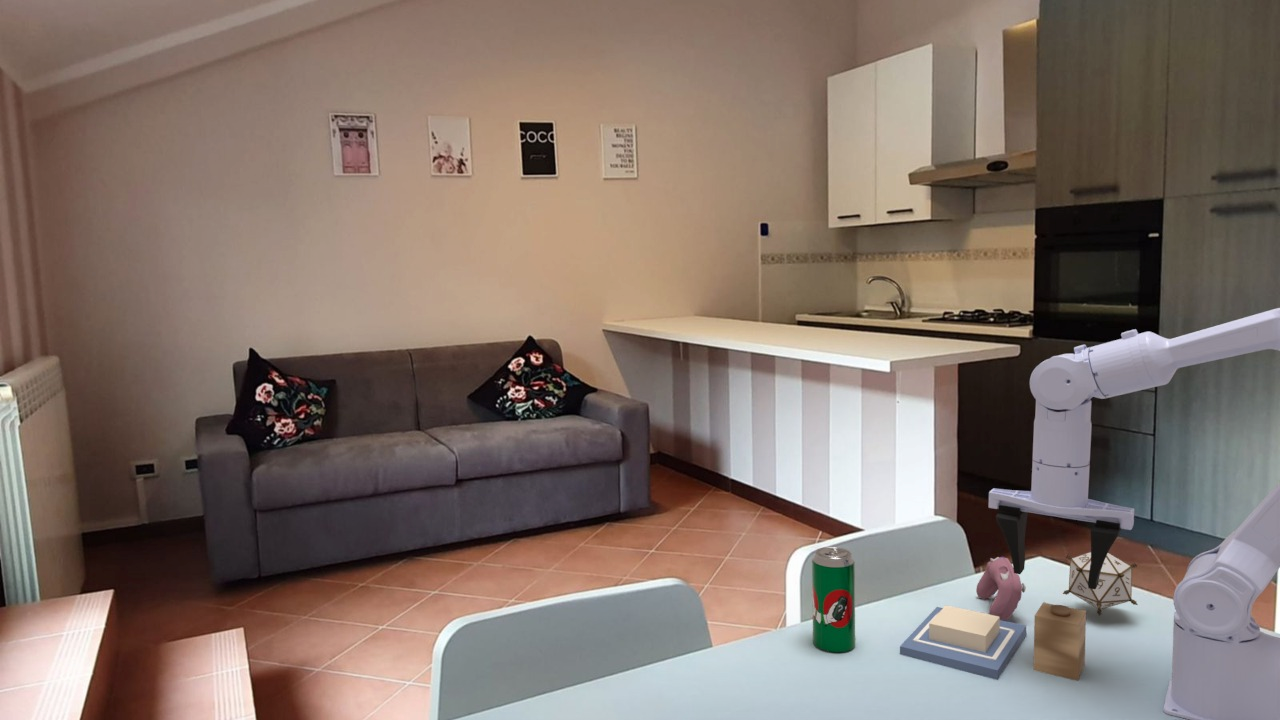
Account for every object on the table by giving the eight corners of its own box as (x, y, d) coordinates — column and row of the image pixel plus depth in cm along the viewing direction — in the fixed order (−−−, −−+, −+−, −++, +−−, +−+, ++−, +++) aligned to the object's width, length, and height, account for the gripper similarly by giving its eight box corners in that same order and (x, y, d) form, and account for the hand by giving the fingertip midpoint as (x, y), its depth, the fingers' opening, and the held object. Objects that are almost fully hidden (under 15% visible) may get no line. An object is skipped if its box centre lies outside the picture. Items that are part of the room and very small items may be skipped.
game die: (1137, 635, 102) (1140, 556, 101) (1060, 622, 107) (1062, 547, 106) (1136, 609, 110) (1138, 536, 109) (1064, 598, 114) (1066, 527, 113)
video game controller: (1027, 628, 106) (1029, 575, 105) (989, 625, 107) (991, 573, 106) (1009, 598, 115) (1011, 549, 115) (974, 596, 116) (975, 547, 116)
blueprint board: (1026, 634, 104) (1026, 610, 103) (997, 680, 92) (997, 653, 92) (936, 615, 110) (936, 592, 110) (899, 655, 99) (899, 630, 99)
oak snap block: (1084, 665, 95) (1086, 605, 95) (1077, 681, 92) (1079, 619, 91) (1042, 655, 98) (1043, 597, 97) (1033, 670, 95) (1034, 610, 94)
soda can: (863, 647, 102) (863, 552, 100) (838, 660, 98) (837, 562, 97) (829, 634, 105) (828, 542, 104) (804, 646, 102) (803, 552, 101)
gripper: (1140, 463, 92) (1133, 581, 93) (1001, 447, 100) (996, 555, 102) (1132, 476, 86) (1124, 602, 88) (985, 458, 95) (981, 573, 96)
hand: (1055, 578), depth 94 cm, fingers open, 7 cm apart
